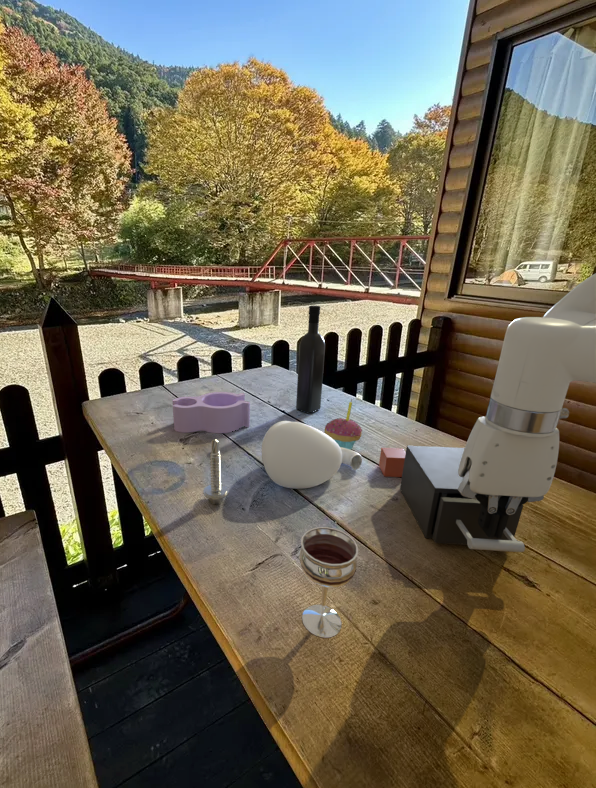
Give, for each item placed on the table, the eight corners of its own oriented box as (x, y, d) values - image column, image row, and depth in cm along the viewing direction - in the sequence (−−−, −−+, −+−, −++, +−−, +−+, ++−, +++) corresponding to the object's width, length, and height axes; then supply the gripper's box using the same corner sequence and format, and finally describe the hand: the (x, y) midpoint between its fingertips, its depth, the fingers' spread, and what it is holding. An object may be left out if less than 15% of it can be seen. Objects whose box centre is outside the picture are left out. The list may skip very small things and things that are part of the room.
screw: (231, 506, 76) (205, 509, 75) (226, 491, 81) (201, 494, 80) (230, 443, 72) (203, 446, 71) (225, 432, 76) (199, 434, 75)
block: (400, 466, 89) (402, 448, 87) (406, 477, 85) (409, 458, 83) (378, 465, 90) (381, 447, 88) (383, 476, 85) (386, 457, 84)
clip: (175, 437, 104) (173, 411, 101) (172, 418, 115) (171, 394, 113) (252, 430, 107) (252, 406, 104) (242, 412, 118) (242, 390, 116)
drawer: (533, 576, 58) (548, 531, 56) (449, 570, 59) (459, 525, 57) (472, 497, 76) (480, 461, 74) (408, 494, 78) (414, 458, 75)
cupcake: (337, 436, 103) (342, 392, 99) (367, 448, 97) (373, 401, 93) (315, 447, 98) (319, 400, 94) (346, 460, 92) (351, 411, 88)
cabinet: (506, 543, 66) (521, 492, 63) (425, 538, 67) (435, 488, 64) (466, 492, 80) (476, 448, 76) (399, 488, 81) (406, 445, 78)
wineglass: (324, 592, 57) (331, 520, 53) (360, 629, 51) (371, 552, 47) (284, 611, 54) (288, 537, 50) (318, 653, 48) (326, 574, 44)
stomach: (367, 498, 85) (299, 459, 106) (383, 437, 84) (311, 410, 105) (278, 497, 75) (221, 453, 96) (294, 427, 73) (233, 399, 94)
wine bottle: (294, 409, 121) (299, 306, 110) (306, 404, 124) (312, 304, 114) (310, 414, 117) (317, 308, 106) (321, 409, 120) (329, 306, 110)
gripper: (564, 406, 56) (529, 519, 62) (449, 402, 57) (426, 512, 64) (605, 430, 49) (561, 553, 55) (473, 424, 50) (445, 545, 57)
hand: (489, 531), depth 59 cm, fingers closed
